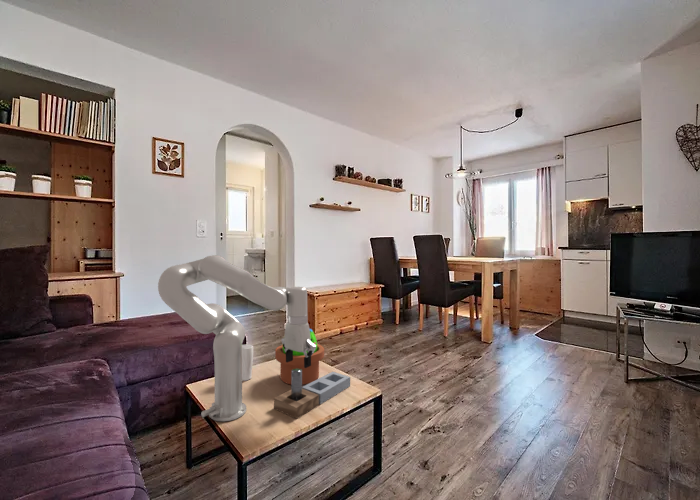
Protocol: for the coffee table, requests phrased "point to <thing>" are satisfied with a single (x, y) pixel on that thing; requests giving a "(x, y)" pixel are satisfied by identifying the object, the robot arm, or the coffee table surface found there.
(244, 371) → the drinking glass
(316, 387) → the peg rack
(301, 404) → the socket block
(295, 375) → the metal peg
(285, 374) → the potted cactus
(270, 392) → the coffee table surface
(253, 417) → the coffee table surface
